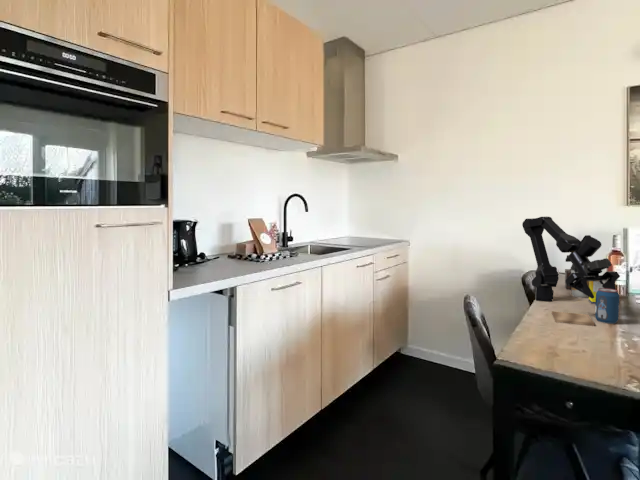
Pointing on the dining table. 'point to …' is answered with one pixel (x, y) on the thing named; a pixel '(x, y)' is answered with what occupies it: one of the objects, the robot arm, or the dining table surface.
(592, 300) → the supplement box
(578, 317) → the tan flat square slab
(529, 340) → the dining table surface
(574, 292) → the coffee cup
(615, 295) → the soda can
